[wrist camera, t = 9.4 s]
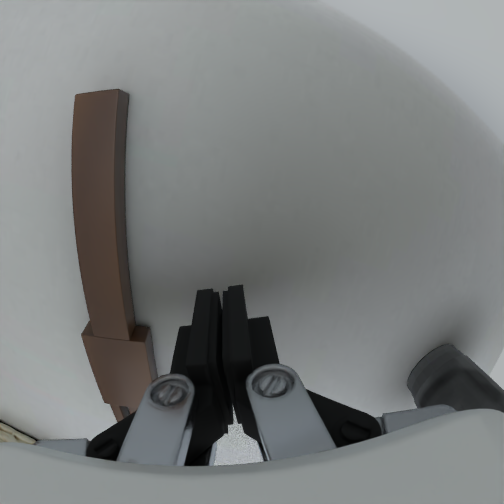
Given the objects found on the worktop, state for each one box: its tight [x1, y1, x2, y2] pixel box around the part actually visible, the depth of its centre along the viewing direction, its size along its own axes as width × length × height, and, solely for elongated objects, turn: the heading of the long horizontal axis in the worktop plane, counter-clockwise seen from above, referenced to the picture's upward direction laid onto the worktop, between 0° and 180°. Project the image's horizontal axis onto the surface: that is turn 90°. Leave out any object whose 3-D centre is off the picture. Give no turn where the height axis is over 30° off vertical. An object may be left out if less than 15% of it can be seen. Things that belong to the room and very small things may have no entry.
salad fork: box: [72, 89, 158, 422], centre depth 11 cm, size 3×18×1 cm, turn 175°
